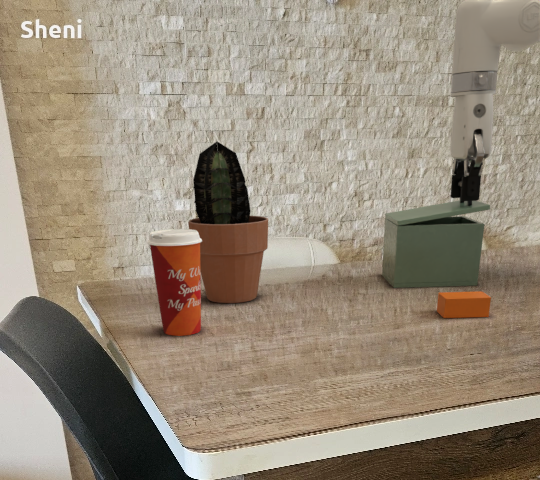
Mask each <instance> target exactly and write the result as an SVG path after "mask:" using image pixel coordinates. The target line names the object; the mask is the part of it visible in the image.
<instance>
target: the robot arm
mask: <svg viewBox="0 0 540 480" xmlns="http://www.w3.org/2000/svg"><path fill="white" fill-rule="evenodd" d="M455 13H456V14H455V22H454V23H455V25H454V40H453V53H452V70H451V83H450V94H449V95H450V98H454V105H453V112H452V113H453V114H452V122H451V123H452V124H451V133H450V146H449V147H450V152H449V153H450V156H451V157H452V158H453V160H452V168H451V169H452V171H451V173H452V174H451V183H450V185H451V186H450V198H451V199H460V194H459V188H458V187H457V186H456V181H457V180H458V179H459V178H462V187H461V201H479V200H480V193H481V184H482V183H481V182H482V175H483V165H484V163H483V161H484V159H488V158H489V157H490V156H491V154H492V144H493V127H494V123H493V122H494V95H496V94H497V83H498V71H499V64H500V62H499V61H500V54H501V53H500V51H501V46H502V47H504V48H505V49H506V50H508V51H510V52H523V51H525V50H527V49H529V48H531V47H533V46H535V45H536V44H538V43H540V0H463V1H461V2H460V3H459V4H458V6H457V9H456V12H455Z"/></svg>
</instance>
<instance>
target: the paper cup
mask: <svg viewBox="0 0 540 480" xmlns="http://www.w3.org/2000/svg"><path fill="white" fill-rule="evenodd" d="M200 242H202V239H201V238H200V237H199V233H198V231H197V230H191V229H189V228H169V229H159V230H154V231H150V233H149V239H148V240H147V242H146V243H147V245H149V248H150V255H151V261H152V267H153V274H154V275H153V276H154V281H155V287H156V293H157V300H158V306H159V313H160V319H161V325H162V329H163V333H164V334H165V335H169V336H176V337H177V336H179V337H181V336H191V335H195V334H198V333H199V332H200V331H201V329H202V287H201V286H202V285H201V284H202V283H201V282H202V281H201V280H202V276H201V272H200Z"/></svg>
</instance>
